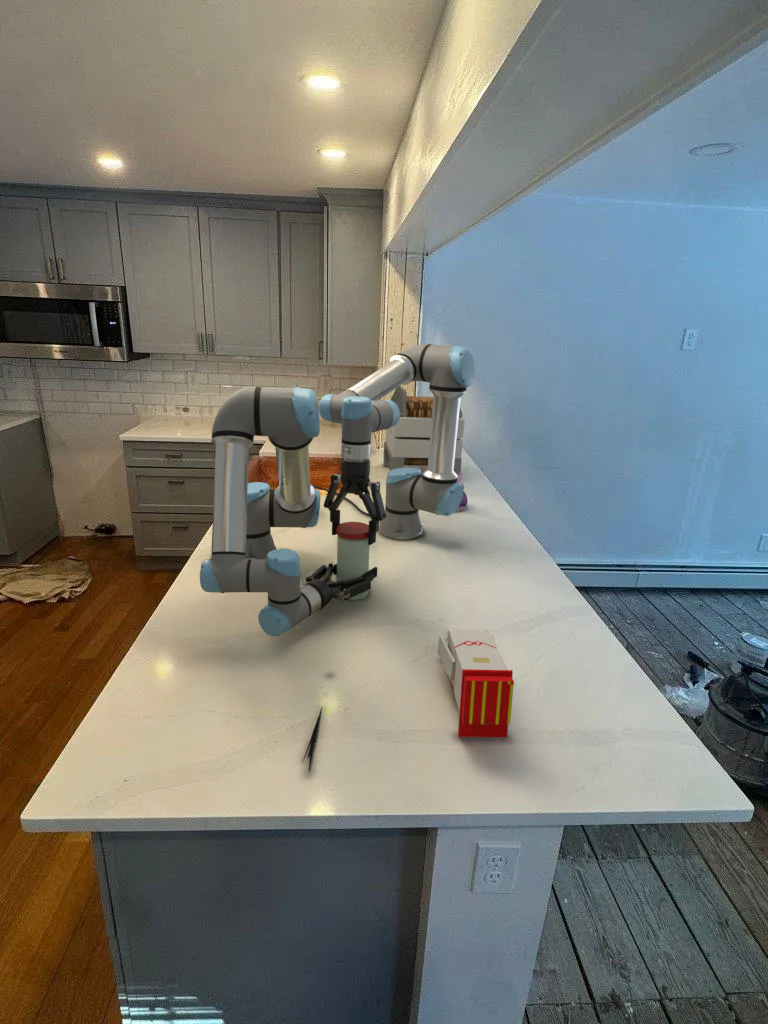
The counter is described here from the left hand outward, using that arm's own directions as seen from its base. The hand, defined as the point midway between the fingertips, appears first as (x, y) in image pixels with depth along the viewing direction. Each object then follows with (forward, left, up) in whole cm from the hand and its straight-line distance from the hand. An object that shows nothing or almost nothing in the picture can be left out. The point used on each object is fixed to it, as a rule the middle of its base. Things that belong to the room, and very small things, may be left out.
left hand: (362, 567), depth 159 cm
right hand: (0, -5, +10) cm, 11 cm away
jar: (0, -5, -6) cm, 8 cm away
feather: (+25, -50, -6) cm, 57 cm away
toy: (+45, -26, -6) cm, 52 cm away
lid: (0, -5, +13) cm, 14 cm away
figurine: (-7, +79, -6) cm, 79 cm away
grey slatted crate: (-44, +114, -6) cm, 123 cm away
